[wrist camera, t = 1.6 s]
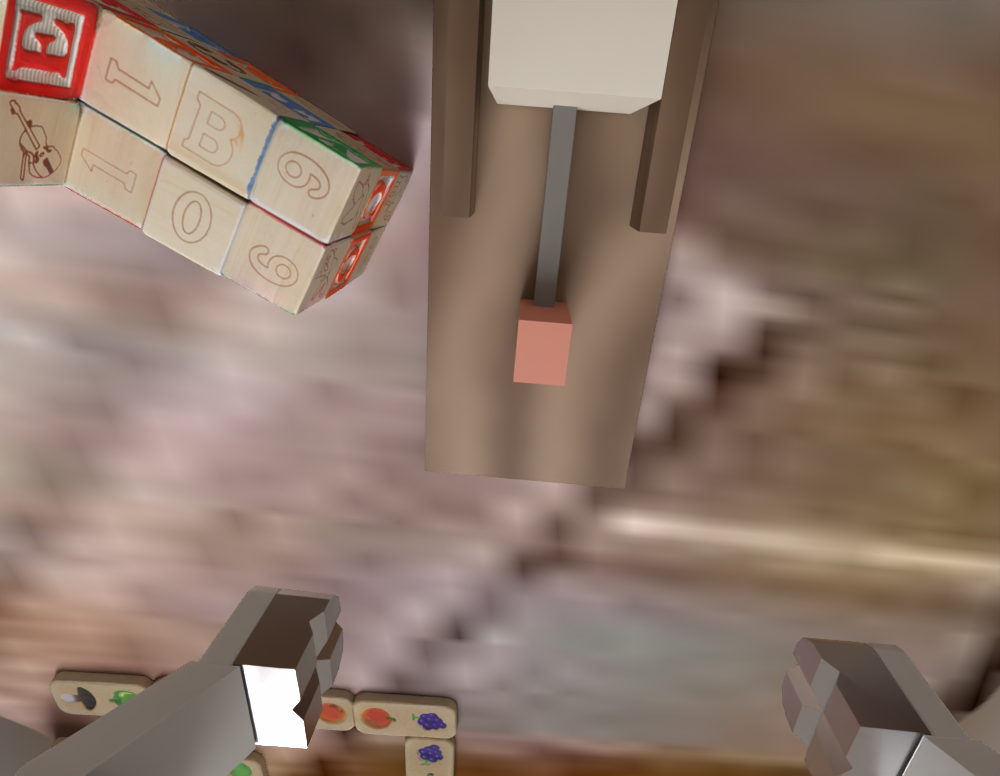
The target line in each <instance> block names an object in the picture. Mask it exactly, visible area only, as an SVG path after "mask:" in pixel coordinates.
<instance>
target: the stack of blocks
mask: <svg viewBox="0 0 1000 776" xmlns="http://www.w3.org/2000/svg"><path fill="white" fill-rule="evenodd" d="M411 174H412V169H410V168H409V167H407V166H405V165H404V164H402V163H400V162H399V161H397V160H396V159H394V158H392V157H391V156H389V155H388V154H386V153H384V152H383V151H381V150H380V149H378V148H376V147H375V146H373V145H372V144H370V143H368V142H367V141H365V140H364V139H362V138H360V137H358V136H357V133H356V132H355V131H353V130H352V129H350V128H348V127H347V126H345V125H344V124H342V123H341V122H339V121H338V120H336V119H335V118H333V117H331V116H330V115H328V114H327V113H325V112H324V111H322V110H320V109H319V108H317V107H316V106H314V105H313V104H311V103H310V102H308V101H306V100H304V99H302V98H301V97H300V96H299V95H297V94H296V93H294V92H293V91H291V90H290V89H288V88H287V87H285V86H284V85H282V84H280V83H279V82H277V81H276V80H274V79H273V78H271V77H270V76H268V75H267V74H265V73H263V72H262V71H260V70H259V69H257V68H256V67H254V66H253V65H251V64H250V63H248V62H246V61H243V60H241V59H238V58H237V57H236V56H234V55H233V54H231V53H229V52H228V51H226V50H225V49H223V48H222V47H220V46H218V45H217V44H215V43H214V42H212V41H211V40H209V39H208V38H206V37H205V36H203V35H202V34H200V33H199V32H197V31H196V30H194V29H192V28H191V27H189V26H188V25H186V24H184V23H182V22H180V21H179V20H177V19H176V18H174V17H173V16H171V15H170V14H168V13H167V12H165V11H164V10H162V9H161V8H159V7H157V6H156V5H154V4H153V3H151V2H150V1H148V0H0V187H2V186H47V185H63V186H65V187H66V188H68V189H70V190H71V191H73V192H75V193H77V194H78V195H80V196H82V197H84V198H86V199H87V200H89V201H91V202H93V203H95V204H96V205H98V206H100V207H102V208H104V209H105V210H107V211H109V212H111V213H112V214H114V215H116V216H118V217H120V218H121V219H123V220H125V221H127V222H128V223H130V224H132V225H134V226H136V227H138V228H140V229H142V231H143V232H144V233H145V234H146V235H147V236H149V237H151V238H153V239H154V240H156V241H158V242H160V243H162V244H163V245H165V246H167V247H169V248H171V249H172V250H174V251H176V252H178V253H179V254H181V255H183V256H185V257H187V258H188V259H190V260H192V261H194V262H195V263H197V264H199V265H201V266H203V267H204V268H206V269H208V270H210V271H212V272H213V273H215V274H217V275H225V276H226V277H228V278H229V279H231V280H232V281H234V282H236V283H238V284H239V285H241V286H243V287H245V288H246V289H248V290H250V291H252V292H254V293H256V294H257V295H259V296H261V297H262V298H264V299H266V300H268V301H270V302H272V303H273V304H275V305H277V306H278V307H280V308H282V309H284V310H286V311H287V312H289V313H291V314H293V315H297V314H299V313H300V312H302V311H304V310H305V309H307V308H309V307H310V306H312V305H314V304H315V303H317V302H319V301H320V300H322V299H326V298H328V297H329V296H331V295H332V294H334V293H336V292H337V291H339V290H340V289H342V288H343V287H344V286H345V285H346V284H348V283H350V282H351V281H352V280H354V279H355V278H357V277H358V276H360V275H361V274H362V273H363V272H364V270H365V268H366V266H367V264H368V262H369V260H370V258H371V256H372V254H373V252H374V250H375V248H376V246H377V244H378V242H379V240H380V238H381V236H382V234H383V232H384V230H385V227H386V225H387V223H388V222H389V220H390V218H391V216H392V214H393V213H394V211H395V209H396V207H397V205H398V203H399V201H400V199H401V197H402V194H403V192H404V190H405V188H406V186H407V184H408V181H409V179H410V177H411Z"/></svg>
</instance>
